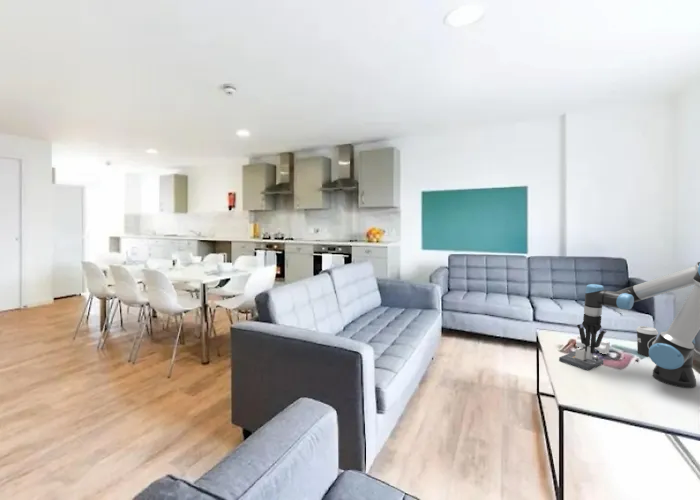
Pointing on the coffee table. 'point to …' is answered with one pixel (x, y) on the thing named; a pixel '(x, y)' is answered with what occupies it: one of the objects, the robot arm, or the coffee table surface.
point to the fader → (581, 354)
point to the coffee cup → (645, 339)
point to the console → (581, 361)
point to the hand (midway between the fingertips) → (589, 358)
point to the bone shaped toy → (602, 348)
